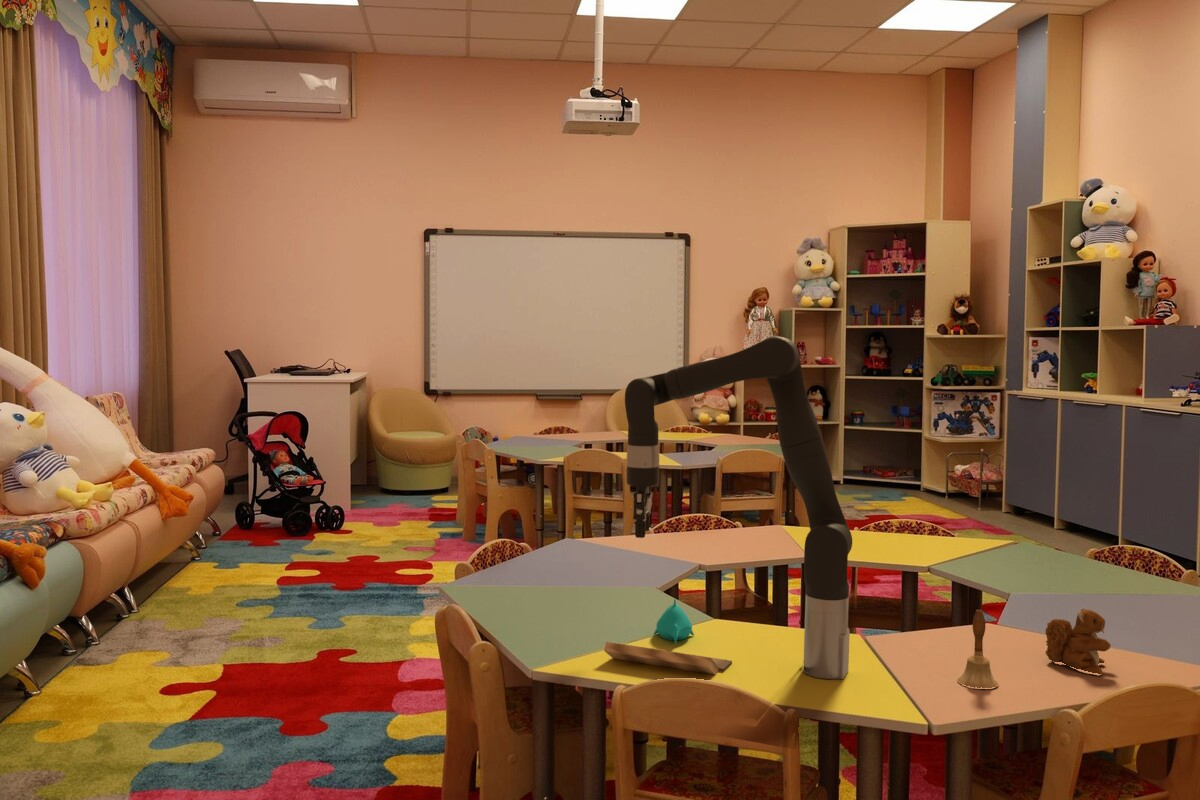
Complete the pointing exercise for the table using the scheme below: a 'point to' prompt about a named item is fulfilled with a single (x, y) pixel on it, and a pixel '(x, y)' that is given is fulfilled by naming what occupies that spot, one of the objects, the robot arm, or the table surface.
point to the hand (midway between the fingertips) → (642, 534)
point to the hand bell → (978, 659)
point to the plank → (661, 658)
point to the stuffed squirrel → (1077, 641)
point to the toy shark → (674, 624)
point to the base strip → (720, 662)
